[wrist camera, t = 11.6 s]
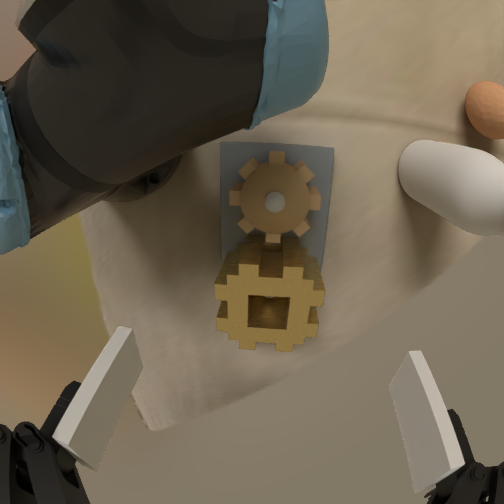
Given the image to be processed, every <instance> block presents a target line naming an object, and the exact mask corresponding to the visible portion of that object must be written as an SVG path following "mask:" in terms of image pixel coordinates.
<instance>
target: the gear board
mask: <svg viewBox="0 0 504 504" xmlns="http://www.w3.org/2000/svg"><path fill="white" fill-rule="evenodd" d="M333 157H334V148H329V147H319V146H308V145H295V144H279V143H254V142H221V256H222V264H223V262H224V259H225V257H226V255H227V252H235V250H236V247H237V245H238V244H245V241H246V238H247V235H248V234H251V235H263V245H272V246H282V241H283V236H286V237H299V242H300V247H305V248H307V249H308V253H309V256H310V257H316V258H317V261H318V265H319V269H320V273H321V267H322V260H323V253H324V245H325V238H326V230H327V221H328V212H329V203H330V193H331V182H332V170H333ZM265 297H267V298H273V297H275V296H265Z"/></svg>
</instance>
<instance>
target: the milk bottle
mask: <svg viewBox="0 0 504 504" xmlns="http://www.w3.org/2000/svg"><path fill="white" fill-rule="evenodd" d="M398 174H399V180H400V183H401V185H402V187H403V189H404V191H405V192H406V193H407V194H408V195H409V196H410V197H411V198H413V199H414V200H416V201H417V202H419V203H421V204H422V205H424V206H425V207H427V208H429V209H430V210H432V211H434V212H435V213H437V214H438V215H440V216H442V217H443V218H445V219H446V220H448V221H449V222H451V223H453V224H454V225H456V226H458V227H459V228H461V229H463V230H465V231H467V232H470V233H472V234H476V235H482V236H490V235H504V164H503V163H502V162H501V161H500V160H498V159H497V158H496V157H494V156H493V155H491V154H489V153H487V152H485V151H482V150H479V149H475V148H471V147H467V146H462V145H457V144H451V143H445V142H439V141H431V140H418V141H415V142H413V143H411V144H410V145H409V146H408V147H407V148H406V149H405V150H404V151H403V153H402V155H401V157H400V161H399V166H398Z"/></svg>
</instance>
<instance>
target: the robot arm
mask: <svg viewBox="0 0 504 504" xmlns="http://www.w3.org/2000/svg"><path fill="white" fill-rule="evenodd" d="M15 25H16V27H17V29H18V30H19V31H20V32H21V33H22V34H23V35H24V36H25V37H26V38H27V40H29V42H30V43H31V44H32V45H33V47H34V48H35V49H36V51H35V52H34V53H33V54H32V55H31V56H30V57H29V59H28V60H27V61H26V62H25V63H24V64H23V65H22V66H21V67H20V69H19V70H18V71H17V72H16V73H15V74H14V76H13V77H11V78H10V79H8V80H6V81H0V255H3V254H6V253H8V252H10V251H12V250H13V249H15V248H17V247H19V246H20V247H24V246H26V245H27V244H28V243H29V241H30V239H32V238H33V237H35V236H37V235H38V234H40V233H41V232H43V231H45V230H47V229H49V228H50V227H52V226H54V225H56V224H57V223H59V222H61V221H63V220H65V219H66V218H68V217H70V216H72V215H74V214H76V213H78V212H80V211H82V210H84V209H85V208H87V207H89V206H91V205H93V204H95V203H97V202H99V201H101V200H105V201H117V202H128V201H133V200H137V199H140V198H142V197H145V196H147V195H148V194H150V193H152V192H154V191H156V190H157V189H159V188H160V187H161V186H162V185H164V184H165V183H166V182H167V181H168V179H169V178H170V177H171V176H172V174H173V173H174V171H175V170H176V168H177V166H178V164H179V161H180V159H181V156H182V154H183V153H185V152H188V151H190V150H192V149H194V148H197V147H199V146H201V145H203V144H206V143H208V142H211V141H213V140H215V139H218V138H220V137H223V136H225V135H228V134H230V133H233V132H235V131H238V130H241V129H243V128H244V129H245V130H250V129H253V128H254V127H255V126H257V125H259V124H260V123H261V121H263V120H266V119H268V118H271V117H273V116H276V115H278V114H281V113H284V112H286V111H289V110H292V109H295V108H297V107H300V106H302V105H304V104H305V103H306V102H307V101H308V100H309V99H310V98H312V96H313V95H314V94H315V93H316V92H317V91H318V90H319V88H320V86H321V84H322V81H323V79H324V76H325V72H326V68H327V63H328V53H329V31H328V20H327V13H326V6H325V1H324V0H21V2H20V5H19V9H18V13H17V17H16V21H15ZM142 368H143V364H142V361H141V358H140V354H139V351H138V347H137V343H136V340H135V336H134V332H133V329H132V328H127V327H123V326H118V328H117V329H116V331H115V332H114V334H113V335H112V337H111V338H110V340H109V341H108V343H107V345H106V346H105V348H104V349H103V350H102V352H101V354H100V355H99V357H98V358H97V360H96V361H95V363H94V365H93V366H92V368H91V370H90V371H89V373H88V375H87V376H86V378H85V379H84V381H83V383H82V384H81V383H79V382H76V381H73V382H71V383H70V384H69V385H68V386H66V387H65V389H64V390H63V392H62V394H61V395H60V398H59V399H58V400H57V402H56V405H54V407H53V409H52V410H51V412H50V414H49V415H48V417H47V419H46V421H45V422H44V424H43V426H42V428H41V429H40V430H38V429H37V427H36V426H35V425H34V424H32V423H30V422H21V423H19V424H18V425H17V426H16V427H15V429H14V431H13V432H12V431H11V430H10V429H9V428H7V427H6V425H2V424H0V504H90V502H89V500H88V497H87V495H86V492H85V490H84V487H83V484H82V482H81V479H80V476H79V473H78V471H77V468H76V466H75V463H76V460H77V461H78V462H79V463H80V464H82V465H83V466H85V467H88V468H89V469H92V470H94V471H97V470H98V467H99V465H100V463H101V460H102V458H103V455H104V453H105V451H106V448H107V446H108V443H109V441H110V439H111V436H112V434H113V432H114V429H115V427H116V425H117V423H118V420H119V418H120V416H121V414H122V411H123V409H124V407H125V405H126V402H127V400H128V398H129V396H130V394H131V392H132V390H133V387H134V385H135V383H136V381H137V379H138V377H139V375H140V373H141V370H142ZM388 387H389V391H390V394H391V397H392V401H393V404H394V408H395V411H396V415H397V419H398V422H399V426H400V430H401V434H402V437H403V442H404V446H405V450H406V455H407V459H408V463H409V468H410V473H411V477H412V483H413V488H414V493H417V492H420V491H423V490H426V489H429V488H430V487H432V486H433V485H435V484H436V488H435V489H433V490H432V491H430V492H428V493H427V494H426V495H425V496H424V498H426V497H428V496H430V495H431V497H429V498H428V499H429V501H428V502H427V504H504V462H502V463H501V464H500V465H498V466H492V467H484V465H483V464H481V463H478V462H476V461H475V460H474V457H473V454H472V452H471V448H470V445H469V443H468V439H467V437H466V435H465V431H464V428H463V427H462V423H461V421H460V418H459V416H458V415H457V414H456V412H455V411H454V410H453V409H450V410H446V407H445V404H444V402H443V400H442V397H441V395H440V392H439V390H438V387H437V385H436V383H435V381H434V378H433V376H432V374H431V372H430V369H429V367H428V365H427V363H426V361H425V359H424V357H423V354H422V353H421V351H409V352H408V353H407V355H406V357H405V359H404V361H403V362H402V364H401V366H400V368H399V369H398V371H397V373H396V374H395V376H394V378H393V379H392V381H391V383H390V384H389V386H388ZM487 496H489V498H488V501H487V502H486V497H487Z"/></svg>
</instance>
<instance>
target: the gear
mask: <svg viewBox="0 0 504 504" xmlns="http://www.w3.org/2000/svg"><path fill="white" fill-rule="evenodd" d="M324 294H325V288H324V284H323V280H322V277H321V273H320V269H319V265H318V261H317V258H316V257H310V256H309V253H308V249H307V248H305V247H300V242H299V237H286V236H283V241H282V246H272V245H263V235H251V234H248V235H247V238H246V241H245V244H238V245H237V247H236V250H235V252H227V255H226V257H225V259H224V262H223V264H222V267H221V269H220V272H219V274H218V277H217V279H216V281H215V300H222V301H221V305H220V308H219V311H218V314H217V317H216V321H217V331H224V332H228V337H229V340H238V341H239V348H240V349H252V350H255V348H256V342H264V343H276V350H275V351H282V352H292V348H293V344H304V338H305V337H316V335H317V330H318V325H319V323H318V317H317V311H316V306H320V307H322V305H323V300H324ZM265 296H275V297H273V298H267V297H265Z"/></svg>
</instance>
